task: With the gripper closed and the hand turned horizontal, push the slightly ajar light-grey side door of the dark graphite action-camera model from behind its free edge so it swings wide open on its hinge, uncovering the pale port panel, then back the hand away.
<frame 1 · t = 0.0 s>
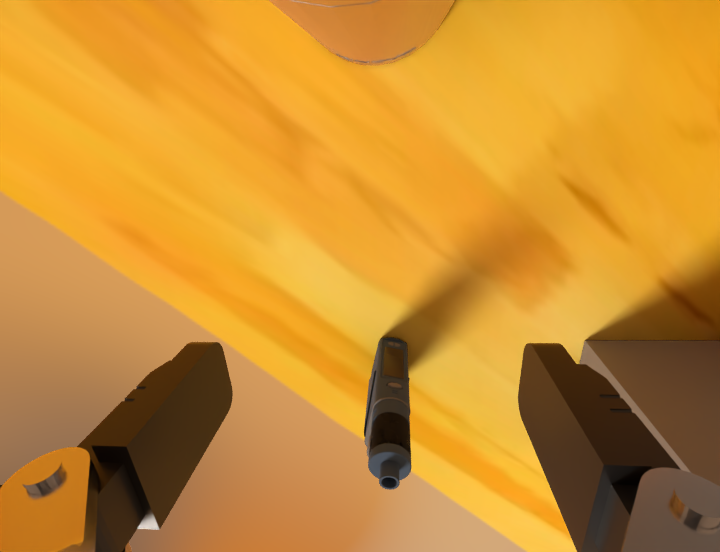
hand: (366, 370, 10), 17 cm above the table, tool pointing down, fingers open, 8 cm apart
vaping device: (388, 358, 31), on the table
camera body: (654, 387, 29), on the table
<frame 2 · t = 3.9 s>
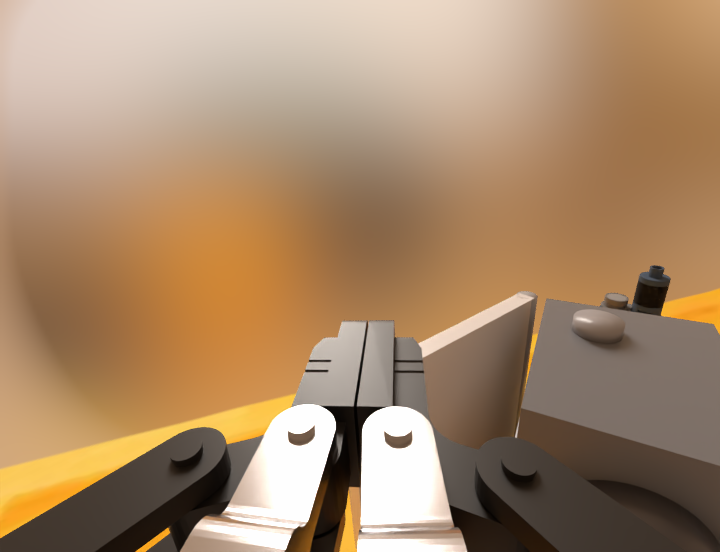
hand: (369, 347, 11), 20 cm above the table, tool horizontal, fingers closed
vaping device: (614, 368, 40), on the table
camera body: (584, 532, 25), on the table
side door: (448, 413, 26), point 7 cm above the table, hinge at 25.0°
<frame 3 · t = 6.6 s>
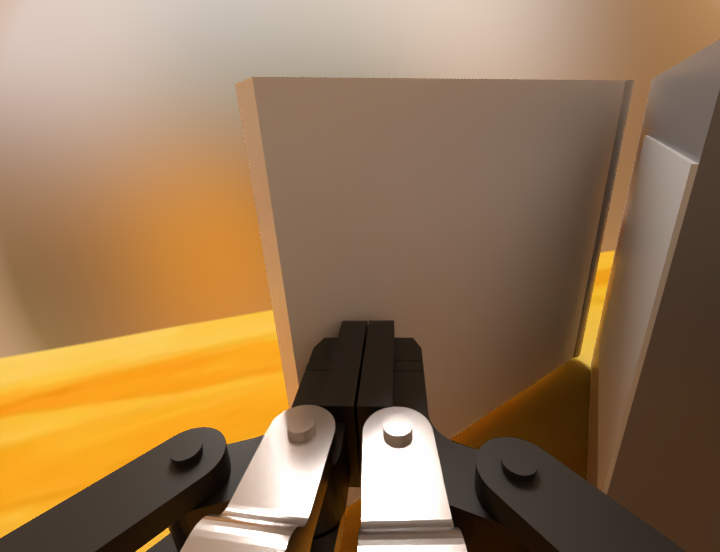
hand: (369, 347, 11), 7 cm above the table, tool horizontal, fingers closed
side door: (477, 272, 15), point 7 cm above the table, hinge at 25.8°, touching gripper
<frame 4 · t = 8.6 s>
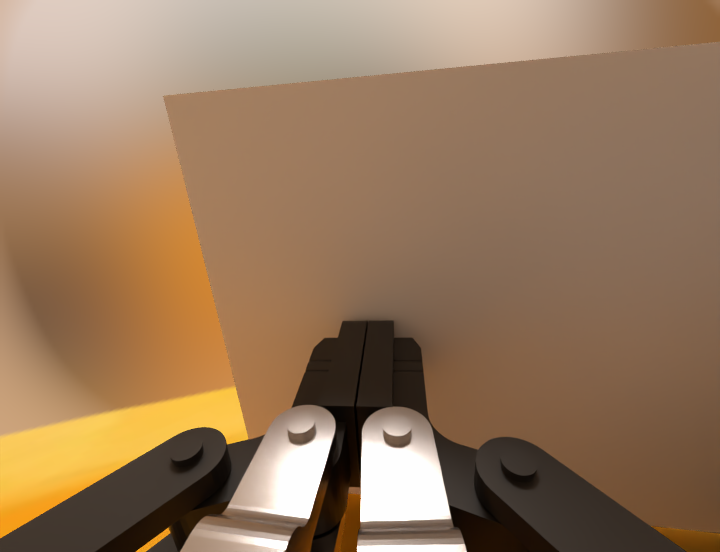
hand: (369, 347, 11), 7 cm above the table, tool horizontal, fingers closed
side door: (496, 325, 11), point 7 cm above the table, hinge at 66.6°, touching gripper
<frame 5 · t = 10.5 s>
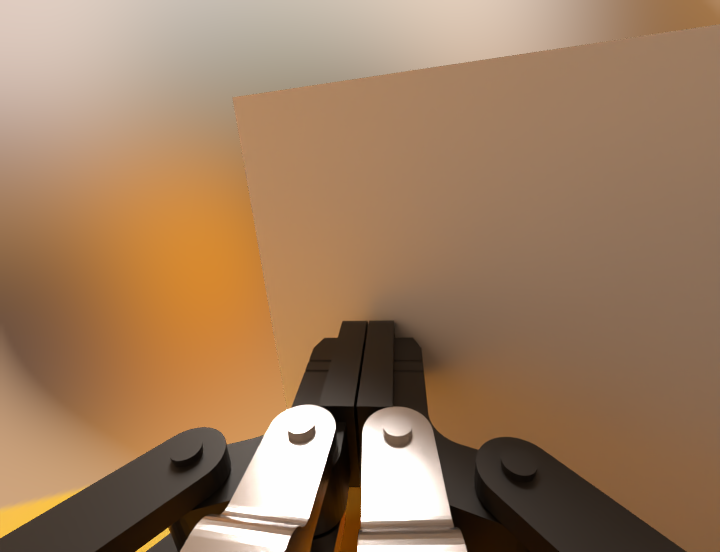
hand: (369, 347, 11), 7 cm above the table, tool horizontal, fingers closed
side door: (508, 353, 10), point 7 cm above the table, hinge at 94.8°, touching gripper
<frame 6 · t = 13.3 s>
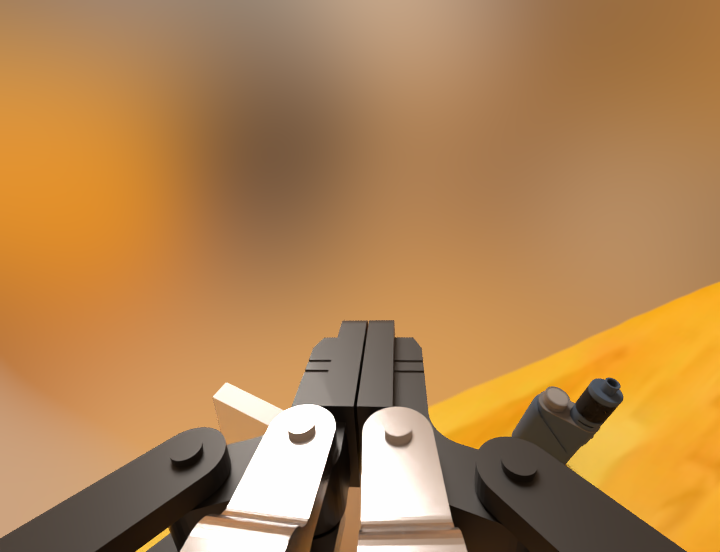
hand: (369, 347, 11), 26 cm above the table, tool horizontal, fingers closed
vaping device: (535, 453, 36), on the table
side door: (337, 499, 24), point 7 cm above the table, hinge at 95.0°
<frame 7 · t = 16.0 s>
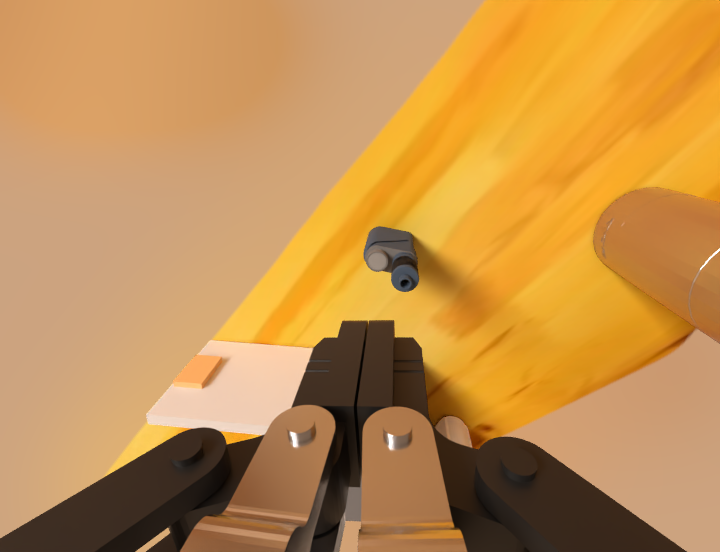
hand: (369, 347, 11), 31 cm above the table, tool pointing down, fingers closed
photo printer: (439, 439, 53), on the table
vaping device: (391, 238, 42), on the table
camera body: (376, 388, 50), on the table
side door: (253, 380, 42), point 7 cm above the table, hinge at 95.0°
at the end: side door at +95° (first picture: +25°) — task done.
